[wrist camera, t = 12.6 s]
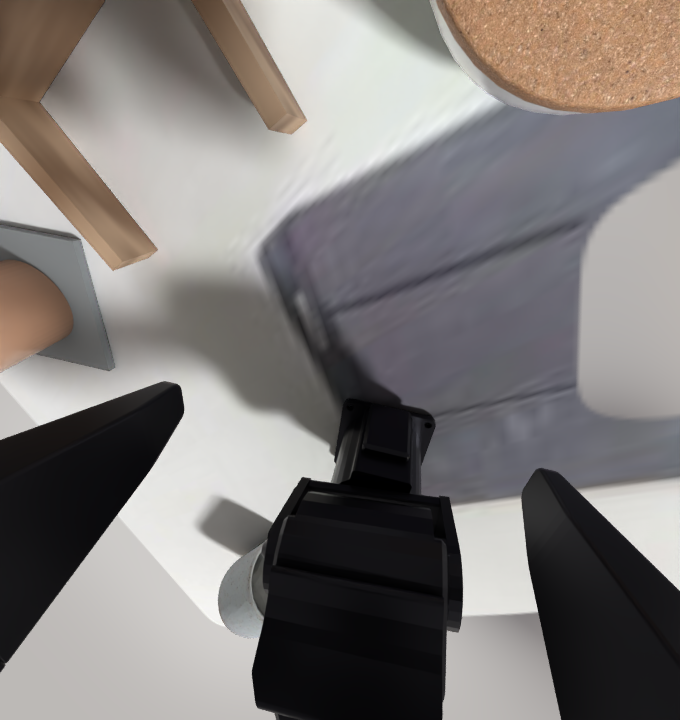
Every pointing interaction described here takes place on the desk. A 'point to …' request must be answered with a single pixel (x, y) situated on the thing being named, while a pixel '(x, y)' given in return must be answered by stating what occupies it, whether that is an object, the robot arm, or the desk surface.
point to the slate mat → (64, 291)
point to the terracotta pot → (29, 313)
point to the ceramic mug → (244, 595)
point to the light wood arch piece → (53, 148)
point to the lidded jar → (566, 51)
